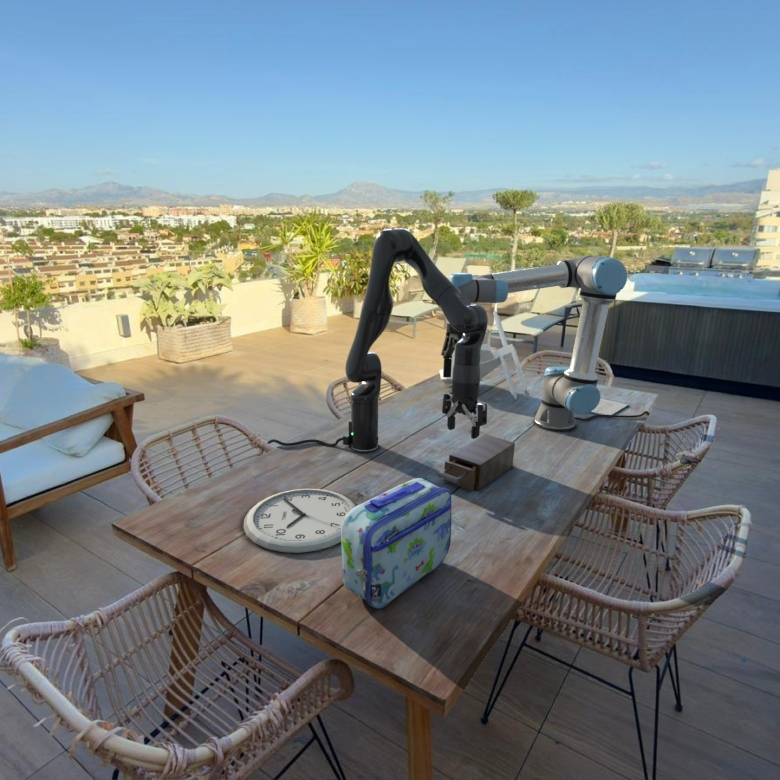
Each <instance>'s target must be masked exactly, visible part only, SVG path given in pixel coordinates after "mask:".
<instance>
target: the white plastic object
mask: <svg viewBox="0 0 780 780" xmlns="http://www.w3.org/2000/svg"><path fill="white" fill-rule="evenodd" d="M492 315H493V319H494V321H495V324H496V325H495V326H496V328H497V332H498V335H499V338H500V342H501V345H502V347H500V348H498V349H496V350H495V349H493V348H492V347H491V346H490V344H489V343H488V342H487V343H482V346H481V357H480V382H482V381H484V378H485V377H486V376H487V375H489V374H490V373H492V372H494V371H495V370H496V369H497V368H499V367H500V366H502V370H503V373H504V376H505V380H506V383H507V386H508V390H509V393H510V394H511V395H512V397H513V398H514V399H515V400H517V392H516V391H517V390H516V388H515V385H514V381H513V378H512V375H511V371H510V369H509V365H508V361H510V360H513V363H514V366H515V369H516V372H517V376H518V380H519V382H520V385H521V389H522V391H523V393H524V395H525V396H526V397H528V396H531V395H530V390H529V388H528V387H529V386H528V384H527V381H526V378H525V375H524V371H523V369H522V368H523V367H522V366H521V362H520V359H519V355H518V352H517V349H516V347H515V346H514V345H513V343H511V344H508V341H507V337H506V334H505V331H504V328H503V325H502V321H501V318H500V315H499V314H498V312H497V311H496V310H495V311H492ZM454 355H455V350H454V352H453V354H452V358H449V359H452V365H451V377H443V368H442V369H440V370H439V371H438V372H439V376H440V381H442V383H443V384H444V385H445V386H449V385H452V375H453V366H454Z"/></svg>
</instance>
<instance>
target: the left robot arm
mask: <svg viewBox="0 0 780 780" xmlns="http://www.w3.org/2000/svg"><path fill="white" fill-rule="evenodd" d="M371 254H372V255H371V261H370V270H369V275H368V280H367V284H366V289H365V292H364V293H365V295H364V298H363V301H362V305H361V309H360V313H359V317H358V318H359V319H358V323H357V325H356V326H357V327H356V330H355V335H354V337H353V340H352V343H351V346H350V348H349V352H348V354H347V358H346V360H345V366H344V367H345V368H344V369H345V376H346V379H347V380H348V381H349V382H351V383H355V384H356V383H360V384H359V385H358V386H357V387H355V388H354V389H353V390H352V391H351V392H350V420H349V421H348V432H347V433H345V434H344V435H343V436H342V437H338V438H337V439H336V440H335V441H334V442H333V443H328V442H325V441H323V440H320V439H313V438H312V439H304V440H298V441H294V442H282V441H280V440H278V439H275V438H273V439H269V440H268V441H267V442H266V444H268V445H269V444H272V443H275V444H278V445H280V446H283V447H284V446H285V447H292V446H298V445H302V444H306V443H317V444H319V445H320V444H321V445H323V446H326V447H336V446H338V444H339V442H342V445H344V446H348V449H351V450H352V451H353V452H354V451H355V452H358V453H373V452H374V451H376V450H378V449H379V396H380V394H381V386H382V373H383V372H382V369H383V367H382V362H381V358H380V356H379V355H378V354H377V353H376V352H373V351H370V349H371V348H372V346H373V345H374V343H376V341H377V340H378V339H379V338H380V337H381V336H382V334H383V333H384V332H385V331H386V329H387V328H388V325H389V323H390V320H391V316H392V313H393V307H394V298H393V295H392V291H391V288H390V278H391V275H392V270H393V267H394V264H395V263H400V262H404V263H406V264H407V265H409V266H410V267H411V268H412V269H413V270H414V271H415V272H416V274H417V276H418V278H419V282H420V284H421V287H422V289H423V291H424V292H425V294H426V296H428V297H429V299H431V300H432V302H433V303H434V304H435V305H436V306H438V308H439V309H441V311H442V313H443V315H444V317H445V318H446V320H447V321H448V322H449V324H450V325H451V326H452V327H453V328H454V329H455V330H456V331H458V332H460V333H463V336H462V338H461V340H459V341H458V342H457V343H456V345H455V355H454V366H453V375H452V384H451V392H447V393H444V394H443V397H442V407H441V412H442V414H443V415H444V414H445V415H446V417H447V421H446V422H447V423H446V425H447V430H449V431H452V430H454V429H456V415H457V414H462V415H463V416H466V417H467V419H468V420H469V421H470V423H471V433H470V438H471V439H473V440H476V439H478V438H479V436H480V431H481V427H482V426H485V425H487V424H488V404H487V403H486V402H485V403H479V401H478V399H479V396H480V385H481V384H480V383H481V381H480V357H481V346H482V345H483V344H484V341H485V340H484V339H485V337H486V332H487V329H488V326H489V325H488V323H489V317H488V313H487V310H486V309H485V307H484V306H482V305H481V304H477V303H474V304H471V305H469V306H466V305H464V304H463V303H462V301H461V299H462V293H461V292H460V290H459V289H458V288H457V287H456V286H455V285H454V284H453V283H452V282H451V281H450V280H449V278H448V277H447V276H446V275H445V274H444V273H443V272H442V271H441V270H440V268H438V267H437V265H436V264H435V262H434V261H433V260H432V259H431V258H430V256H429V255H428V253H427V252H426V250H425V249H424V248H423V246H422V245H421V243H420V242H419V241H418V239H417V238H416V237H415V235H414V234H413V233H412V232H411V231H410V230H409V229H407V228H401V227H399V228H387V229H383V230H381V231H379V232H378V233H377V235H376V237H375V239H374V242H373V247H372V253H371ZM452 404H453V405H452Z"/></svg>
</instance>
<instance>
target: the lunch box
mask: <svg viewBox="0 0 780 780" xmlns="http://www.w3.org/2000/svg"><path fill="white" fill-rule="evenodd" d="M451 539H452V494H451V491H450V490H449V488H446V487H439V486H437V485H435V484H434V483H432V482H430V481H428V480H426V479H424V478H421V477H416V478H413V479H410V480H408V481H405V482H403V483H402V484H398V485H397V486H395V487H392V488H390V489H389V490H386V491H384V492H382V493H380V494H378V495H375V496H374V497H372V498H370V499H369V500H366V501H364V502H363V503H360V504H358V505H356V507H354V508H353V509H351V510H350V511H349V512H348V514H347V515H346V517H345V518H344V520H343V523H342V528H341V542H340V546H341V569H342V570H341V571H342V582H343V585H344V588H345V589H346V590H347V591H349V592H351V593H353V594H355V595H356V596H358V597H359V598H361V599H362V600H364V601H365V602H366V603H367V605H368V606H370V607H372V608H374V609H378V610H379V609H380V610H381V609H383V608H384V607H387V605H389V604H390V603H391V602H392V601H393V600H395V599H396V598H397V597H399V596H400V595H402V594H403V593H404V592H405V591H407V590H408V589H409V588H411V587H412V586H413V585H415V584H416V583H418V581H419V580H420V579H421V578H423V577H425V576H427V575H428V574H429V573H431V572H432V571H434V570H435V569H437V568H438V567H439V566H441V564H442V563H443V562H444V561H445V559H446V557H447V556H448V554H449V550H450V547H451V541H452V540H451Z"/></svg>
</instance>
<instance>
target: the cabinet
mask: <svg viewBox="0 0 780 780" xmlns="http://www.w3.org/2000/svg"><path fill="white" fill-rule="evenodd" d="M515 444H516V443H515V442H514V441H510V440H507V439H503V438H499V437H497V436H493V435H490V434H486V433H485V434H483V435H482V436H480V437H477V438H475V439H474V440H473V441H471V442H469V443H468V444H466V445H464V446H462V447H460V448H458V449H457V450H454V451H453V452H451V453H450V454H449V455H448V461H451V462H452V460H454V459H455V460H458V461H461V462H464V463H467V464H470V465H473V466H476V467H477V480H476V484H475V485H474V488H473V490H475V491H476V490H477V491H480V490H481V489H482V488H484V487H486V486H487V485H489V484H490V483H491V482H492V481H494V480H496V479H497V478H498V477H499V476H501V475H502V474H504V473H505V472H507V471H508V470H510V469H512V467H513V466H514V457H515V456H514V455H515V447H516V445H515Z"/></svg>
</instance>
